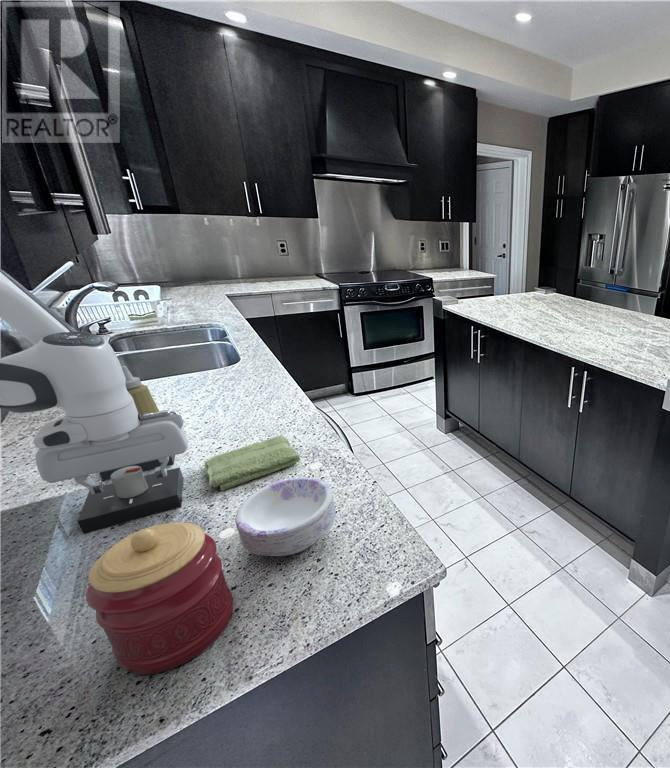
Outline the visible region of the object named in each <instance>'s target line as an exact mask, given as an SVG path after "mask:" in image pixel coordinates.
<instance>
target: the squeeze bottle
mask: <svg viewBox="0 0 670 768" xmlns="http://www.w3.org/2000/svg"><path fill="white" fill-rule="evenodd" d="M121 367H122V370H123V372H124V375H125V379H126V381H125V385H126V389H127V391H128V392H129V394H130V395H131V396H132V398H133V400H134V403H135V406H136V409H137V411H138V414H139V415H140V414H146V413H154V412H160V410H159V408H158V406H157V404H156V402H155V400H154V398H153V395H152V393H151V392H150V389H149V387H148V385H145V384H143V383H142V381H141V378H140V377H138V376H133V375H132V373H131V371H130V370H129V369H128V366H126V365H121Z"/></svg>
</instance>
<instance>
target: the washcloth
mask: <svg viewBox="0 0 670 768" xmlns="http://www.w3.org/2000/svg"><path fill="white" fill-rule="evenodd" d="M300 460H301V456H300V455H299V453H298V452H297V451H295V449H294V448H293V447H291V445H290V442H289V438H287V437H285V436H283V435H276V436H273V437H271V438H268V439H266V440H264V441H259V442H255V443H252V444H249V445H246V446H243V447H240V448H237V449H235V450H231V451H227V452H222V453H219V454H217V455H214V456H212V457H210V458H209V459H207V460H206V461H205V462H204V474H205V476H206V477H207V478H208V479H209V480H208V484H209V487H210V488H217V487H219V488H220V491H224V490H229V489H231V488H234V487H236V486H239V485H243V484H246V483H248V482H249V481H252V480H256V479H259V478H260V477H264V476H267V475H269V474H272V473H275V472H277V471H279V470H280V471H281V470H283V469H285V468H288V467H290V466H294V465H296V464H297V463H298V462H300Z"/></svg>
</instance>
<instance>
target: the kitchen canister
mask: <svg viewBox="0 0 670 768" xmlns="http://www.w3.org/2000/svg"><path fill="white" fill-rule="evenodd" d="M88 582H89V584H88V586H87V589H86V594H85V600H86V603H87V605H88V606H89V607H90V608H91V609H93V610H94V611H95V619H96V622H97V623H98V625H99V627H100V628H102V629H103V631H104V633H105V635H106V637H107V640H108V641H109V643H110V646H111V648H112V655H113V656H114V658H115V660H116V661H117V663H118V664H119V665H120V666H122V667H123V668H124V669H126V670H127V671H129V673H133V674H136V675H153V674H160V673H163V672H166V671H169V670H173V669H174V668H177V667H179V666H181V665H184V664H186V663H188V662H189V661H190V660H192V659H194V658H195V657H197V656H198V655H200V654H201V653H203V652H204V651H206V650H207V649H208V648H209V647H210V646H212V644H213V643H214V642H216V641H217V639H218V638H219V637H220V636H221V635H222V634H223V632H224V631H225V630H226V628H227V627H228V625H229V623H230V621H231V618H232V615H233V609H234V606H233V605H234V598H233V595H232V590H231V589H230V587H229V586H228V584H227V581H226V576H225V574H224V570H223V563H222V560H221V558H220V556H219V555H218V554H217V542H216V540H215V539H214V538H213V537H212V536H211V535H209V534H207V533H205V531H204V530H203V528H202V527H200V526H199V525H198V524H195V523H190V522H171V523H161V524H156V525H152V526H148V527H146V528H143V529H140V530H138V531H135V532H133V533H131V534H129V535H128V536H126V537H124V538H122V539H121V540H119V541H118V542H116V543H115V544H113V546H111V547H110V548H109V549H107V550H106V551H105V552H104V553H103V554H102V555H100V557H99V558H98V559H97V560H96V561H95V562H94V564H93V565H92V567H90V571H89V573H88Z"/></svg>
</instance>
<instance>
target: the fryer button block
mask: <svg viewBox="0 0 670 768" xmlns="http://www.w3.org/2000/svg"><path fill="white" fill-rule="evenodd" d="M175 458H176V455H173V456H169V461H168V463H167V466H166V467H170V466H174V465H175ZM161 464H162V463H159V460H158V459H155V460H151V461H147V462H142V463H138V464H134V465H129V466H139V467H141V469H142V472H143V473H145V472H149V471H152V470H155V468H156V467H159V466H161ZM129 466H125V467H129ZM125 467H120V468H116V469H112V470H107V471H103V472H98V474H99V476H100V479H101V482H106V481H110V480H111V477H110V476H111V474H112V473H114V472H115V471H117V470H119V469H122V468H125Z"/></svg>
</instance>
